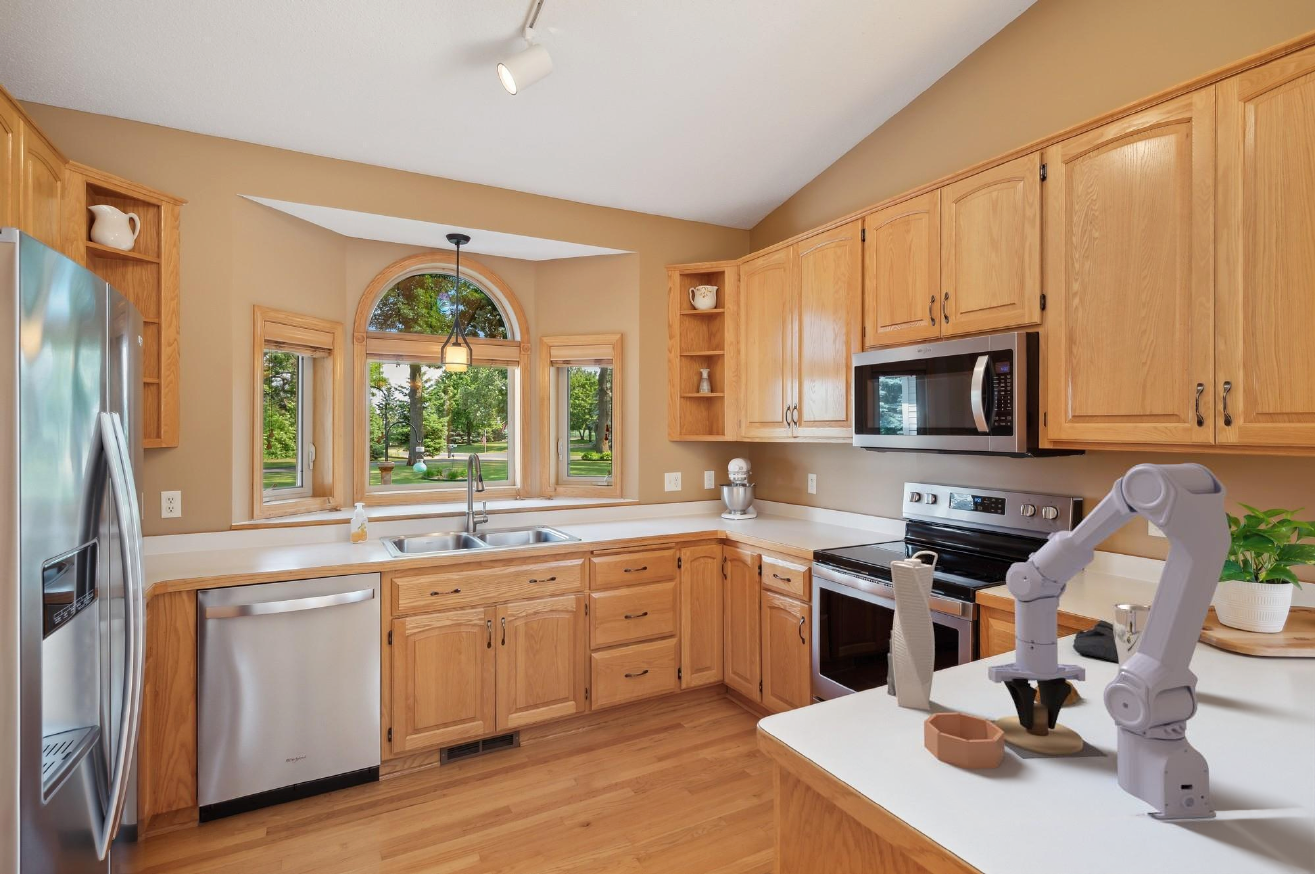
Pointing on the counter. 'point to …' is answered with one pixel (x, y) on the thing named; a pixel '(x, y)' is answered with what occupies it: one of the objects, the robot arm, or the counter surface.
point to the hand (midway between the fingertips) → (1037, 726)
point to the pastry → (1069, 700)
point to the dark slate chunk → (1097, 642)
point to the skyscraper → (912, 633)
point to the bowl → (964, 740)
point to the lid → (1040, 734)
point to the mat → (1085, 752)
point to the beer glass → (1128, 629)
